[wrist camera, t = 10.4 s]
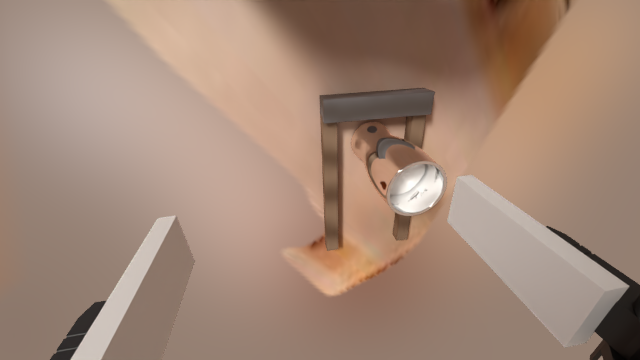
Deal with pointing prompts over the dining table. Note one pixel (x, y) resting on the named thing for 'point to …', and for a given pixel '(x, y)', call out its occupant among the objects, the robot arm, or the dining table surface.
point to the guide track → (366, 108)
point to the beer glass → (399, 170)
